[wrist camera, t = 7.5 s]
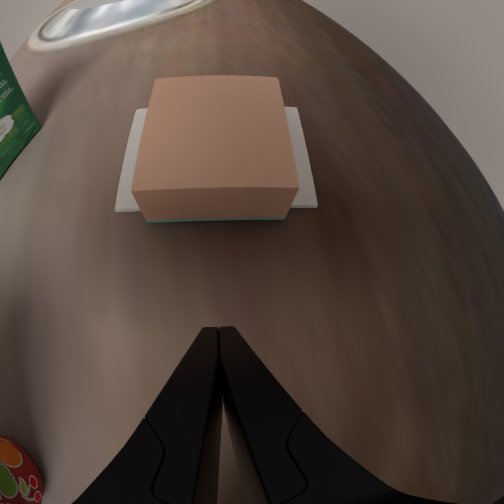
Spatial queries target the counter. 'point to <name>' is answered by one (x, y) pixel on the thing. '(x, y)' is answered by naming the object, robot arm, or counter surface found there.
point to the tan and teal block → (215, 151)
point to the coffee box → (13, 116)
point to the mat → (304, 174)
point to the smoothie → (18, 475)
